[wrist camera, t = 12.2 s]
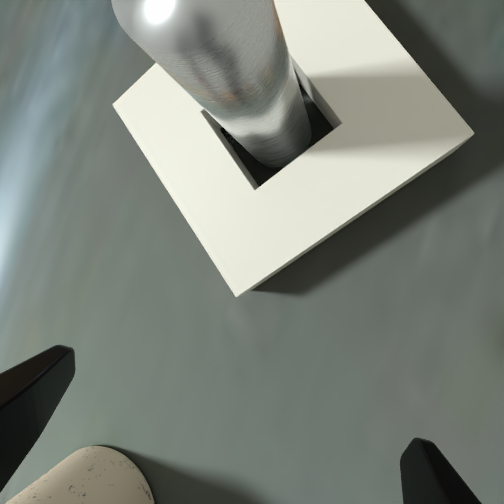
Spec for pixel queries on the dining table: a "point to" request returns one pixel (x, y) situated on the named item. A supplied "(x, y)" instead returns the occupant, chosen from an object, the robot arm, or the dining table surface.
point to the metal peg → (228, 67)
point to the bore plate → (311, 161)
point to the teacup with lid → (89, 481)
